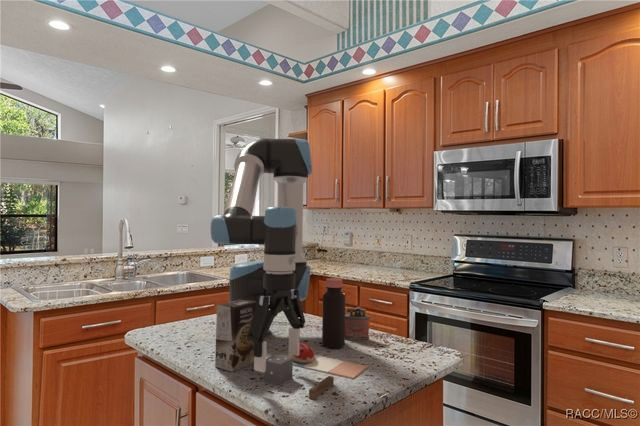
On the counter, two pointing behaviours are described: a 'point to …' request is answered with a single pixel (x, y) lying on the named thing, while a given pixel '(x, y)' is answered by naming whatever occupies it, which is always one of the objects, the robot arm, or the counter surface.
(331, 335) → the bottle
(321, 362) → the track
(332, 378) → the brown bar
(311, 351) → the ladybug figurine
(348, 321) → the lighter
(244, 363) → the coffee box
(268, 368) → the die
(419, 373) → the counter surface
